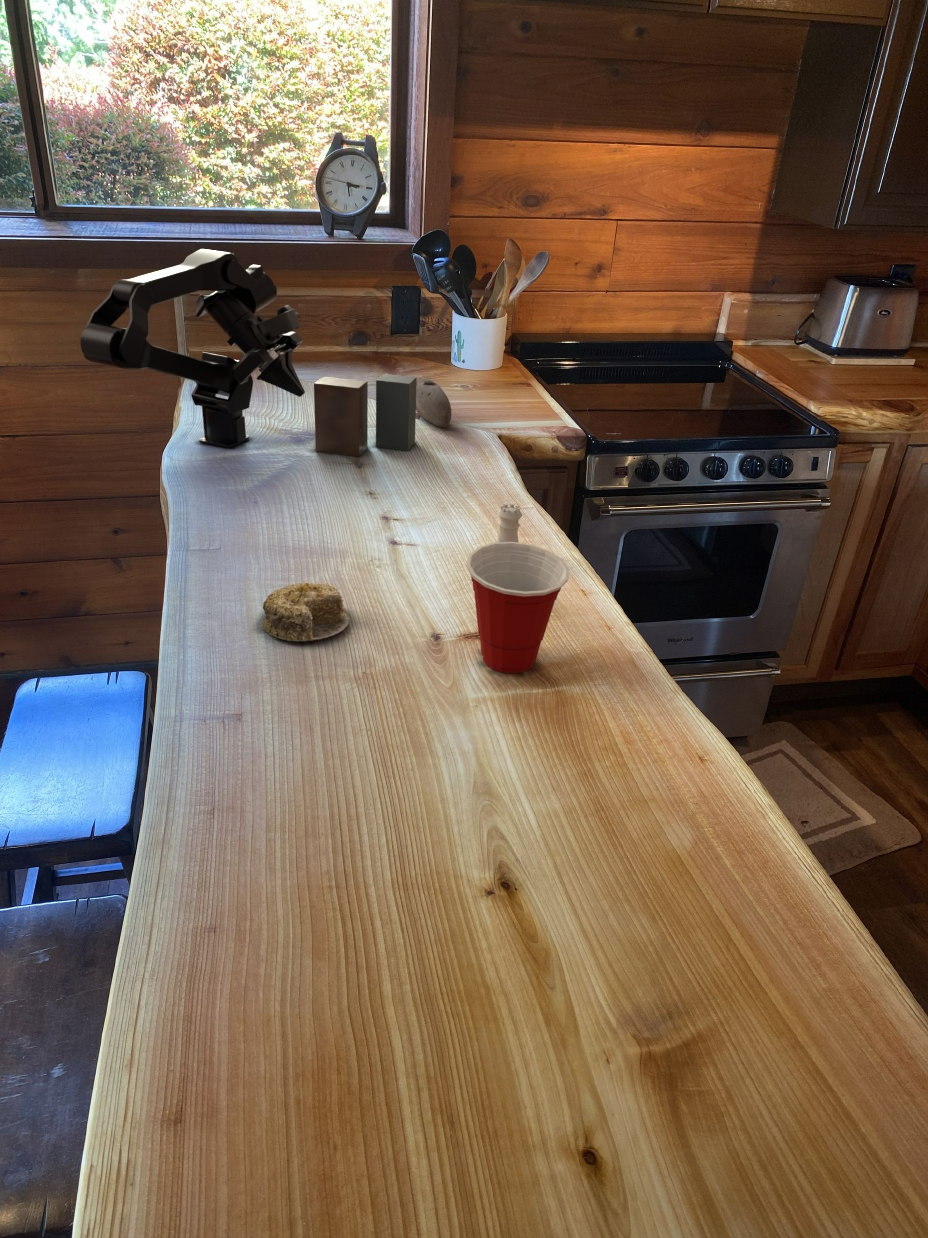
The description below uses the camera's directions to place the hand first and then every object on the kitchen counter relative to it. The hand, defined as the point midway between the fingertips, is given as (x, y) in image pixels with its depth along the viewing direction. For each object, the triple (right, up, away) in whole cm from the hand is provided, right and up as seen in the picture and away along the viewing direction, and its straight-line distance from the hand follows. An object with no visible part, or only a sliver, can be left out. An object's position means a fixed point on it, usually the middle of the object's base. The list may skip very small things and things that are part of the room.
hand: (302, 394), depth 156 cm
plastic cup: (+33, -44, -57) cm, 79 cm away
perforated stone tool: (+22, 0, +21) cm, 31 cm away
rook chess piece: (+34, -31, -35) cm, 58 cm away
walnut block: (+6, -9, +3) cm, 11 cm away
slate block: (+16, -7, +7) cm, 19 cm away
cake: (+10, -40, -52) cm, 66 cm away
